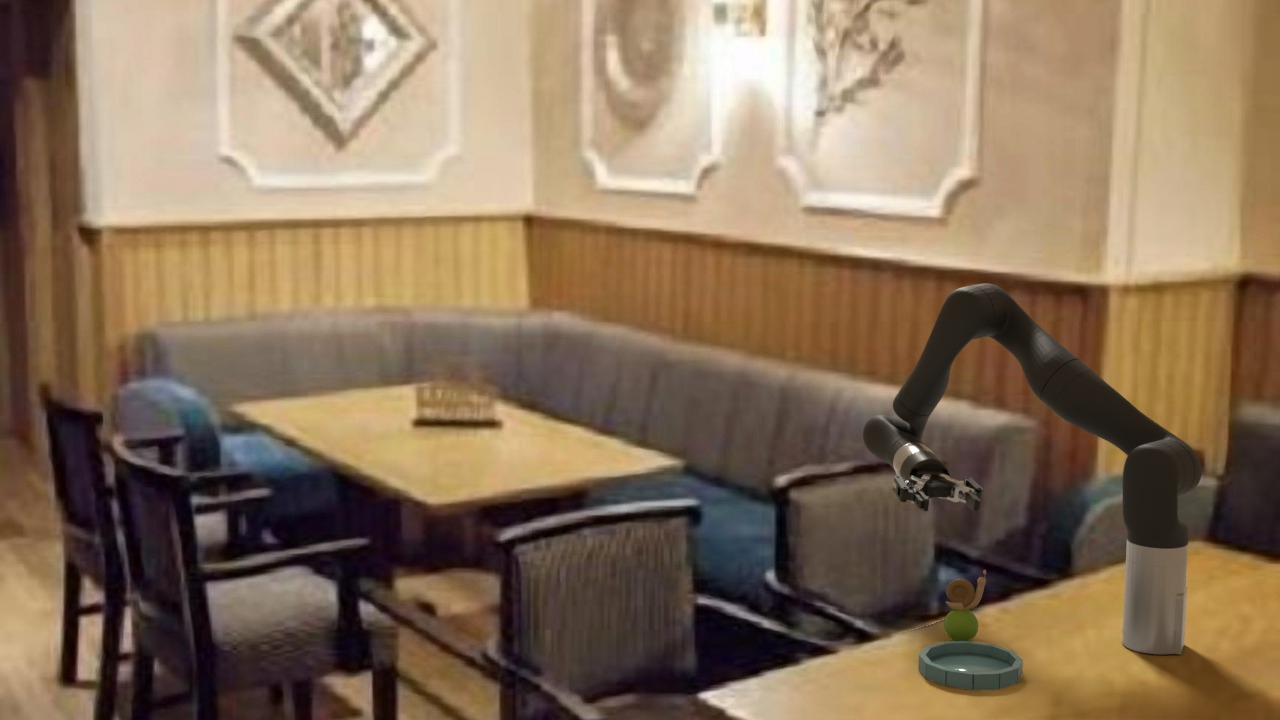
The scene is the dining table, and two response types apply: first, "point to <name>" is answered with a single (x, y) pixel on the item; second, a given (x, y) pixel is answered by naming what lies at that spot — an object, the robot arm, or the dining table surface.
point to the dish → (970, 665)
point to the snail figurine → (963, 608)
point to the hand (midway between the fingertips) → (951, 506)
